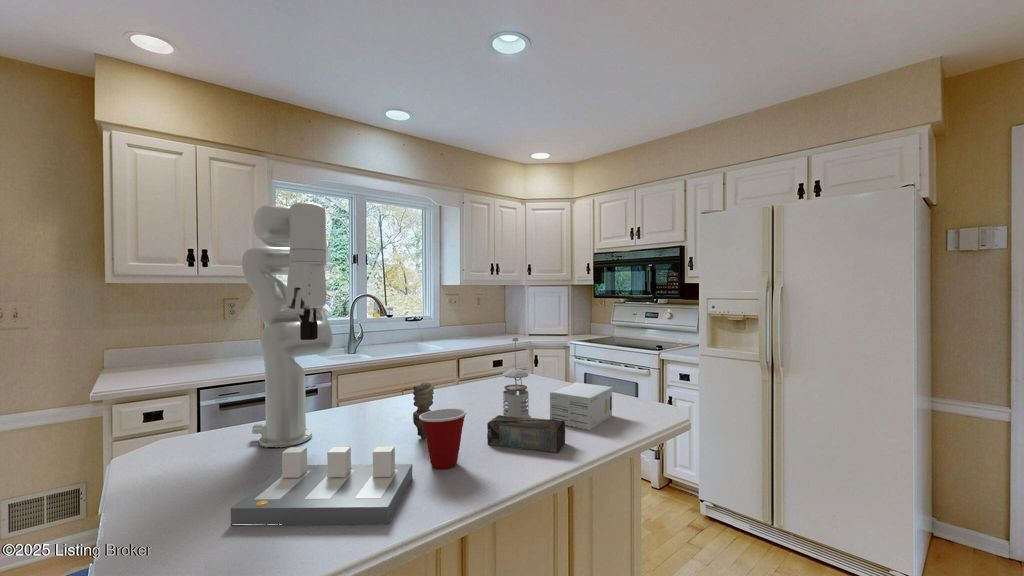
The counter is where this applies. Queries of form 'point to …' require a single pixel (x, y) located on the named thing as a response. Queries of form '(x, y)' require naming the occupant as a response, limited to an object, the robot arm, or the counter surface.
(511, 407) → the french press
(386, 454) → the block
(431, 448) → the plastic cup
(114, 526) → the counter surface
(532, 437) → the beverage carton
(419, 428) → the light bulb
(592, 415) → the supplement box
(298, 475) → the breaker left
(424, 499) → the counter surface
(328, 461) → the block
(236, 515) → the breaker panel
